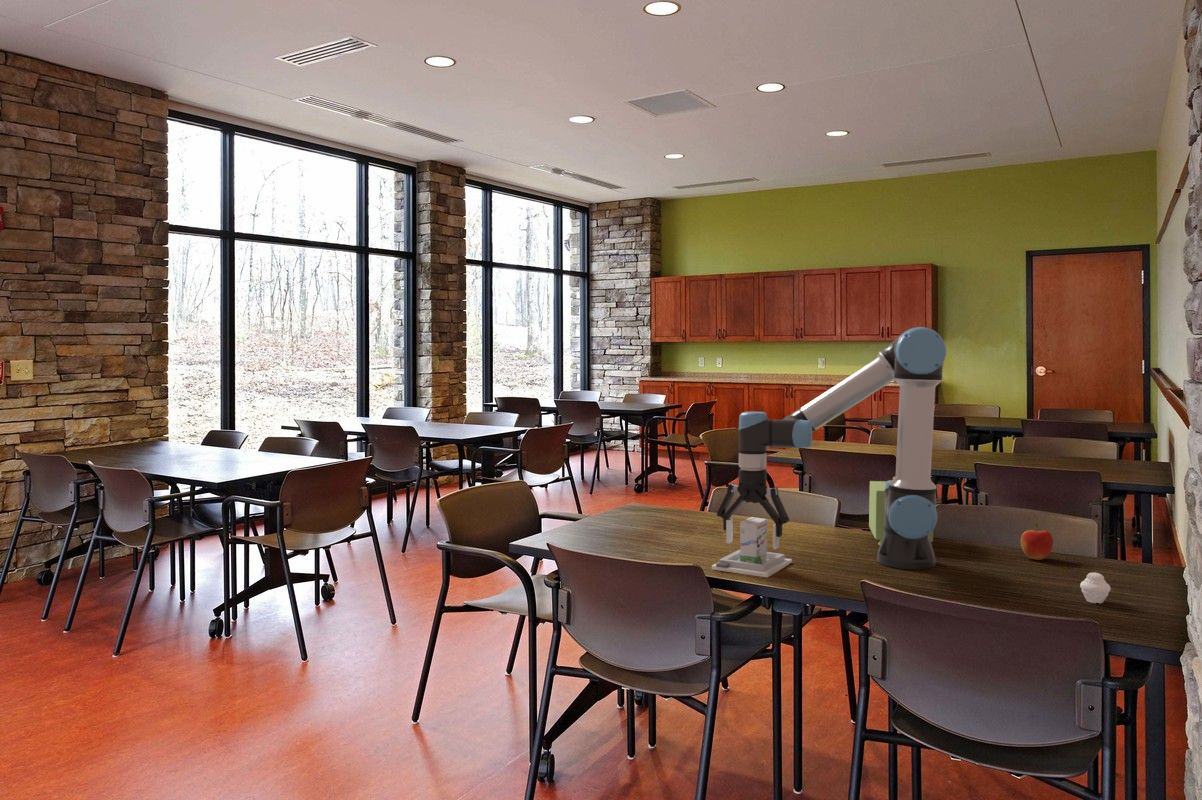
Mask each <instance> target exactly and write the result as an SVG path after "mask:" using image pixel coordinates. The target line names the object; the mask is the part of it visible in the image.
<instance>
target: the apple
mask: <svg viewBox="0 0 1202 800" xmlns="http://www.w3.org/2000/svg"><path fill="white" fill-rule="evenodd" d="M1035 525H1036V527H1038V523H1035ZM1053 539H1054V538H1053V536H1052V534H1051V532H1050V531H1049V530H1045V529H1043V530H1041V531H1040V530H1039V531H1038V530H1035V529H1027V530H1026V531H1024V532H1023V533H1022V534H1021V537H1020V545H1021V546H1020V547H1021V549H1022V552H1023V553H1024V555H1025V556H1026V557H1027V558H1028V559H1030V560H1033V559H1034V561H1041V560H1044V559H1046V558H1047V557H1048V556H1049V555H1050V553H1051V552H1052V549H1053V546H1054V540H1053Z"/></svg>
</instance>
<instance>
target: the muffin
mask: <svg viewBox="0 0 1202 800" xmlns="http://www.w3.org/2000/svg"><path fill="white" fill-rule="evenodd" d="M1079 587H1080V589H1081V593H1082V595H1083V596H1084V598H1085V600H1086V602H1088V603H1091V604H1096V603H1099V604H1103V603H1104V602H1105V600H1106V598H1107V597H1108V595H1109V592H1110V591H1111V589H1112V588H1111V585H1110V584H1109V583H1107V581H1106V580H1105V576H1104V575H1102V574H1101V573H1099V572H1089V573H1088V574H1087V575H1086V578H1084V580H1083V581H1081V582H1080V585H1079Z"/></svg>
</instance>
